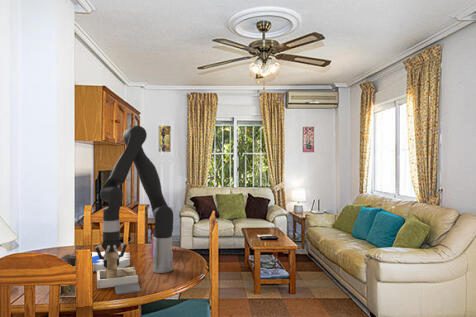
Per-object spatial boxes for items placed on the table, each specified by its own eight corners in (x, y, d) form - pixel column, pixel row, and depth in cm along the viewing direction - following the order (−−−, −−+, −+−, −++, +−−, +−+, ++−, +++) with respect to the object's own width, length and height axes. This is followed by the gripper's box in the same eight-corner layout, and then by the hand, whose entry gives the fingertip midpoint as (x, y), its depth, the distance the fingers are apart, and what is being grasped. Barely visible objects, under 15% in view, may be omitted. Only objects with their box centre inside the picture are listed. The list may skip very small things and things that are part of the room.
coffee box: (88, 292, 146) (89, 253, 146) (82, 298, 140) (82, 257, 140) (66, 292, 146) (67, 253, 146) (59, 298, 139) (59, 257, 140)
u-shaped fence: (134, 273, 171) (134, 266, 171) (137, 283, 157) (138, 275, 157) (97, 278, 164) (97, 270, 164) (97, 288, 150) (97, 280, 150)
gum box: (163, 259, 198) (164, 235, 199) (149, 259, 198) (150, 235, 199) (170, 249, 222) (171, 227, 223) (158, 249, 222) (158, 227, 222)
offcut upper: (128, 272, 166) (128, 267, 166) (135, 276, 161) (135, 270, 161) (121, 274, 164) (121, 268, 164) (128, 277, 159) (128, 272, 159)
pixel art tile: (140, 255, 193) (99, 268, 168) (140, 262, 193) (99, 276, 168) (105, 249, 206) (62, 260, 181) (104, 255, 206) (61, 267, 181)
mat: (138, 283, 156) (138, 282, 156) (140, 291, 147) (140, 290, 147) (114, 286, 153) (114, 285, 153) (116, 294, 143) (116, 293, 143)
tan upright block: (115, 273, 165) (115, 248, 165) (116, 280, 155) (116, 253, 156) (106, 274, 163) (106, 249, 163) (107, 281, 154) (107, 254, 154)
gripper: (126, 227, 166) (126, 263, 166) (94, 229, 160) (94, 267, 160) (128, 229, 159) (128, 267, 159) (94, 232, 153) (94, 271, 153)
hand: (111, 267), depth 159 cm, fingers closed on tan upright block, 4 cm apart
